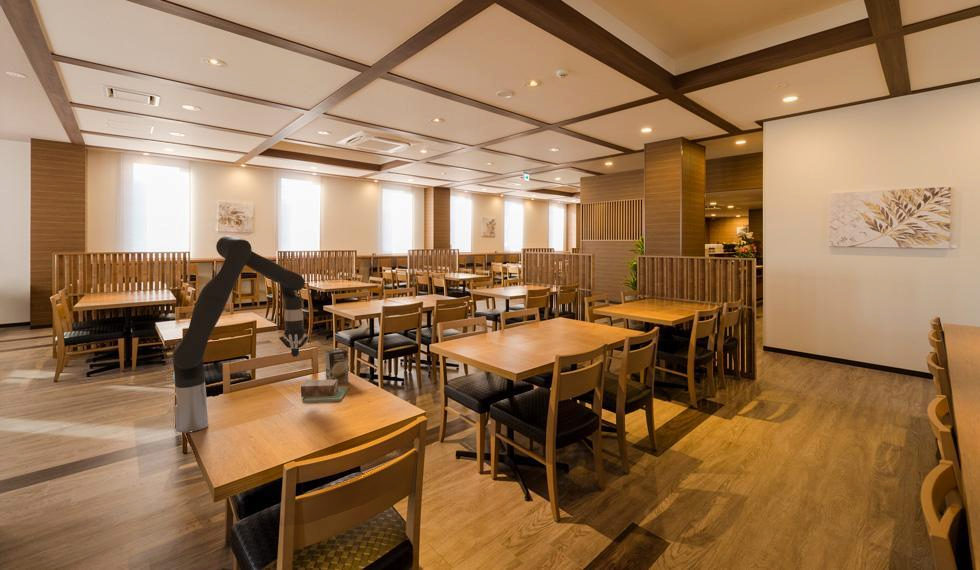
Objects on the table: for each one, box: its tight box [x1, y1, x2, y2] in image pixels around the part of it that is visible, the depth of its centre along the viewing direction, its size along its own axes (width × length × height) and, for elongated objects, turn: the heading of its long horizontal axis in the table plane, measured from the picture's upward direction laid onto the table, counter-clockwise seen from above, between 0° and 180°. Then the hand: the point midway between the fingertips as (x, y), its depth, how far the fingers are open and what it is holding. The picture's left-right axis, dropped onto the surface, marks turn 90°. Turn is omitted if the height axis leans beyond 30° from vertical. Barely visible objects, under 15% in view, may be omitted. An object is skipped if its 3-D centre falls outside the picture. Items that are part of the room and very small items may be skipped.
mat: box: [302, 386, 349, 403], centre depth 198 cm, size 16×16×1 cm
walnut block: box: [300, 379, 339, 398], centre depth 198 cm, size 5×8×14 cm
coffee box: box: [325, 348, 349, 385], centre depth 214 cm, size 9×6×16 cm
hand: (295, 356), depth 197 cm, fingers closed
